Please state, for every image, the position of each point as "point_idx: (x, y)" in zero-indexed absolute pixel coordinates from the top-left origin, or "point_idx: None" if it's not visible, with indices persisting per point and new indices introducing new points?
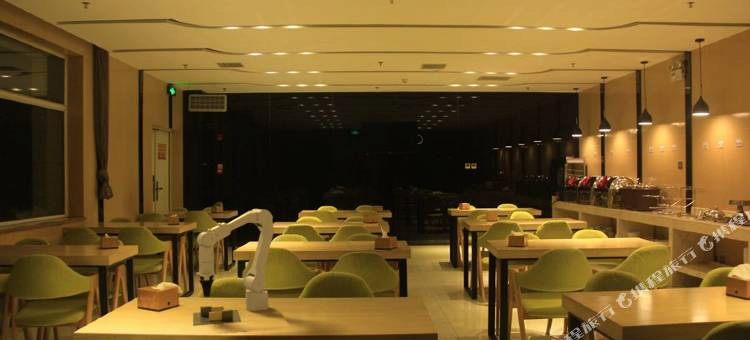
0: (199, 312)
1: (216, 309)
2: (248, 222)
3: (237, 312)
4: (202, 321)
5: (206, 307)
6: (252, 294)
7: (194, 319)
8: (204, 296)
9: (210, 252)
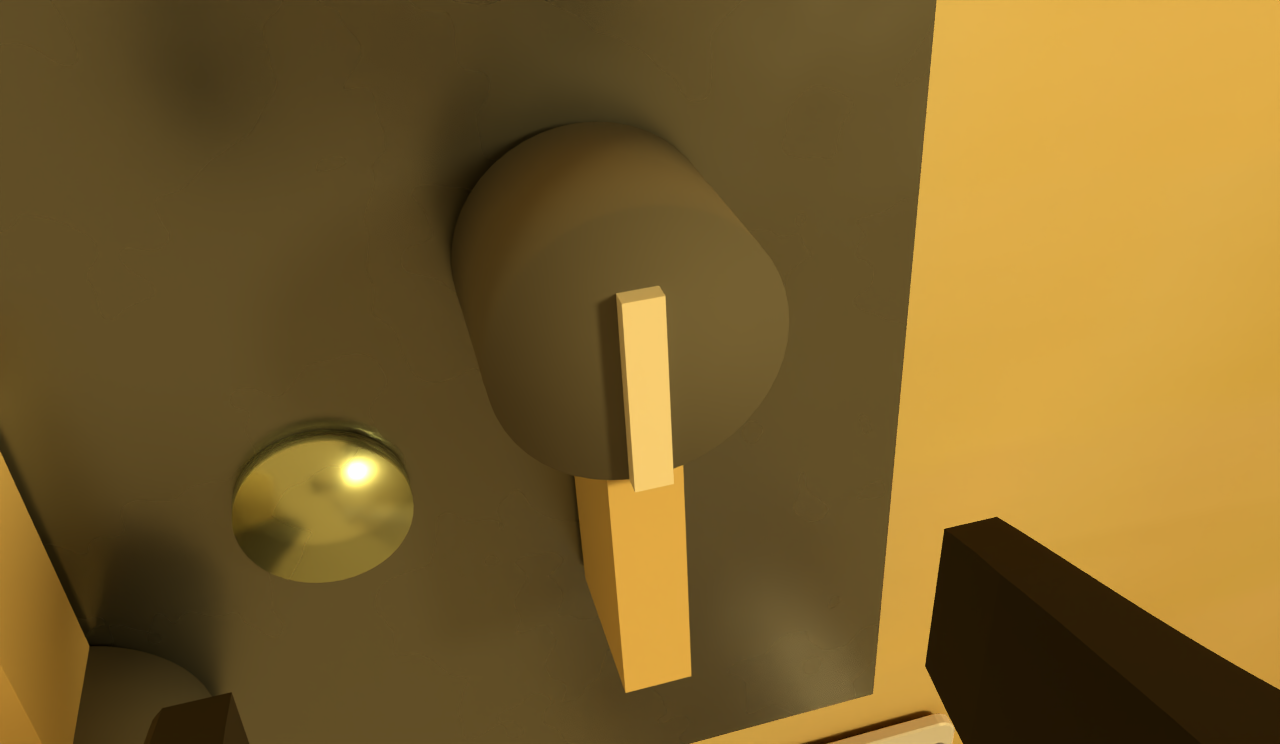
0: (927, 43)
1: (601, 528)
2: None
3: (655, 741)
4: None
5: (555, 380)
6: None
7: (117, 16)
8: (144, 741)
9: None
